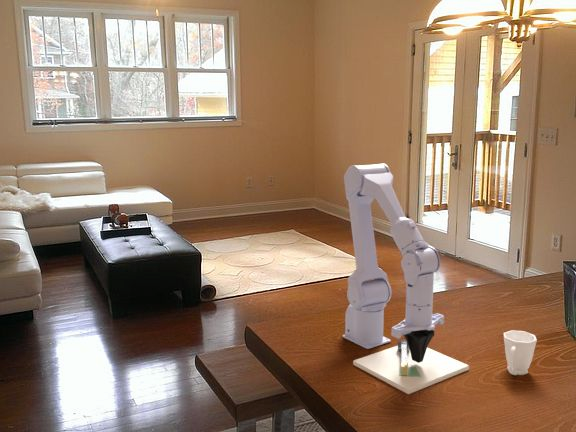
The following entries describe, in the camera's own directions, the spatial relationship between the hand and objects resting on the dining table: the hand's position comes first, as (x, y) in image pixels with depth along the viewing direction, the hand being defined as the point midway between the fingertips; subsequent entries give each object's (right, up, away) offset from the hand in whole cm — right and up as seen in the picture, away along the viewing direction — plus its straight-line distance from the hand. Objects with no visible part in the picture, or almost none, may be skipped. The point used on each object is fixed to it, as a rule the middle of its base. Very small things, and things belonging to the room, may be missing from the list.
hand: (417, 360), depth 129 cm
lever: (-3, -1, +2) cm, 3 cm away
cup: (+21, -2, -2) cm, 21 cm away
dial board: (-1, -2, +1) cm, 3 cm away
